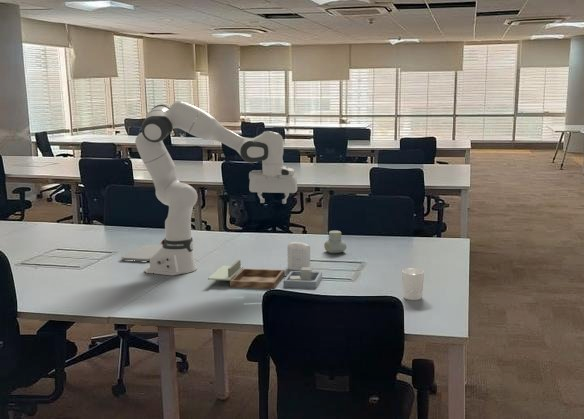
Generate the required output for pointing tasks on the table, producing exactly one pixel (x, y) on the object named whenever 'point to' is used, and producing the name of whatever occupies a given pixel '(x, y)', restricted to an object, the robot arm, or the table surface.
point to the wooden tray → (257, 278)
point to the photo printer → (298, 255)
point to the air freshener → (335, 243)
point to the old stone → (295, 278)
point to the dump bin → (302, 284)
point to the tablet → (142, 253)
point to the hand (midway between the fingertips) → (273, 203)
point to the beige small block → (306, 274)
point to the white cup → (412, 283)
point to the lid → (226, 272)
